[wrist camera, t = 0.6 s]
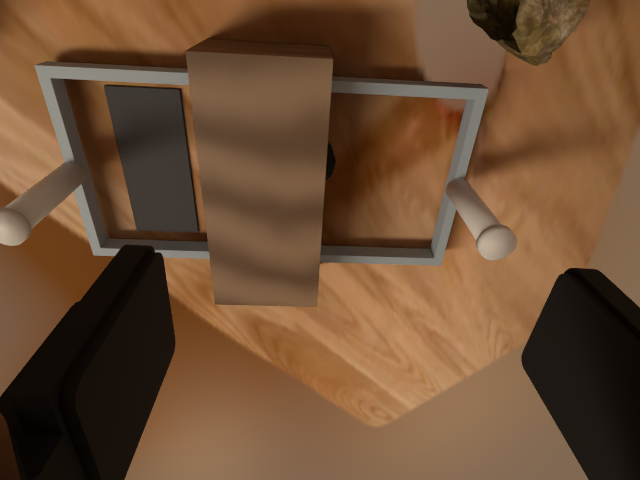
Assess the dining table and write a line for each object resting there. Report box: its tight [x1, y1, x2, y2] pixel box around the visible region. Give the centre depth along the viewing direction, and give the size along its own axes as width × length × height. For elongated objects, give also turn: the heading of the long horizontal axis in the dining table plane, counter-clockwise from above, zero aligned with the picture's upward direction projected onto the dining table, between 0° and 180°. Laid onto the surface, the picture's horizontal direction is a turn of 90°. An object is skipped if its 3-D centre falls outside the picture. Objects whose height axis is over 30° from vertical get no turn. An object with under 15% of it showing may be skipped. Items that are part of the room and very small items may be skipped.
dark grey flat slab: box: [104, 86, 198, 232], centre depth 42 cm, size 16×7×1 cm, turn 177°
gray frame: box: [0, 61, 517, 266], centre depth 37 cm, size 20×42×13 cm, turn 87°
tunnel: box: [185, 39, 333, 307], centre depth 40 cm, size 25×11×8 cm, turn 177°
